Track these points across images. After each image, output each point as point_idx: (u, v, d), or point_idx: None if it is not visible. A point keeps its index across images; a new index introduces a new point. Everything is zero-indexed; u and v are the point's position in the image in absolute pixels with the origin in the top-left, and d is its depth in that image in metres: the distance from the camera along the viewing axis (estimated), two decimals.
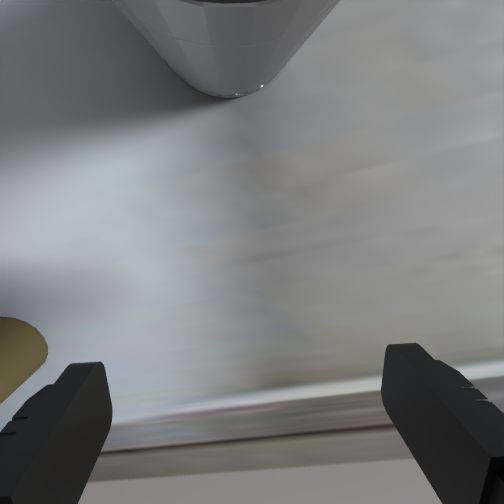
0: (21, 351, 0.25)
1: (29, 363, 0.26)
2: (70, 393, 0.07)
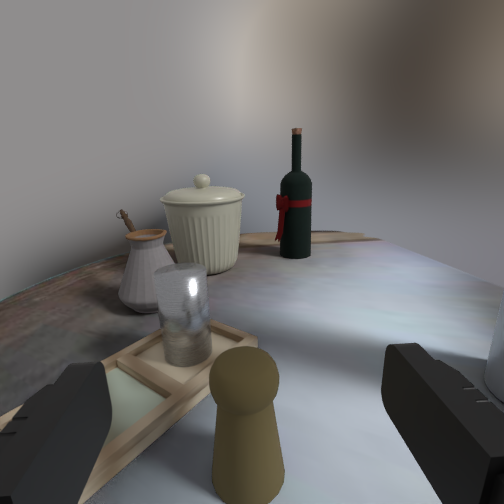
0: (280, 455, 0.25)
1: (274, 471, 0.24)
2: (70, 393, 0.07)
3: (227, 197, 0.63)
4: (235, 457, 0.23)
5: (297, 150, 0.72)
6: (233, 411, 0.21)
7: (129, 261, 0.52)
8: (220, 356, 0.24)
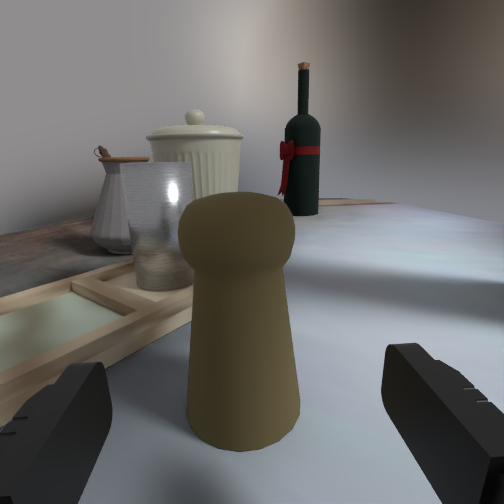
0: (294, 370, 0.16)
1: (285, 391, 0.15)
2: (70, 393, 0.07)
3: (223, 131, 0.54)
4: (221, 357, 0.13)
5: (304, 89, 0.63)
6: (217, 267, 0.12)
7: (103, 189, 0.43)
8: (198, 199, 0.14)
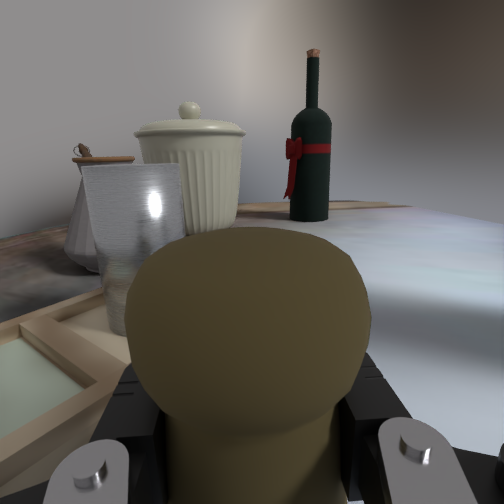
0: None
1: None
2: None
3: (222, 126, 0.47)
4: None
5: (313, 79, 0.56)
6: (205, 423, 0.05)
7: (78, 196, 0.35)
8: (171, 242, 0.07)
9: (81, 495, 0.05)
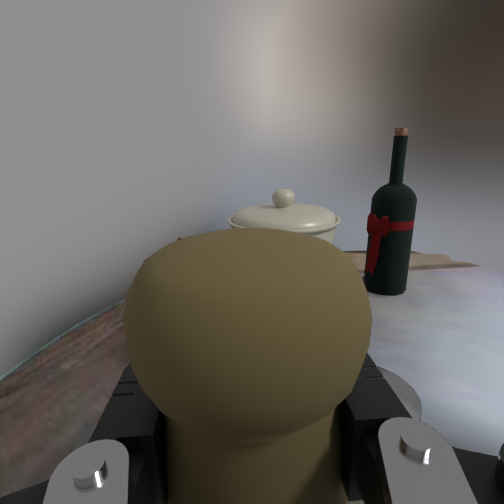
0: None
1: None
2: None
3: (326, 222, 0.46)
4: None
5: (401, 156, 0.55)
6: (206, 426, 0.05)
7: None
8: (171, 243, 0.07)
9: (81, 495, 0.05)
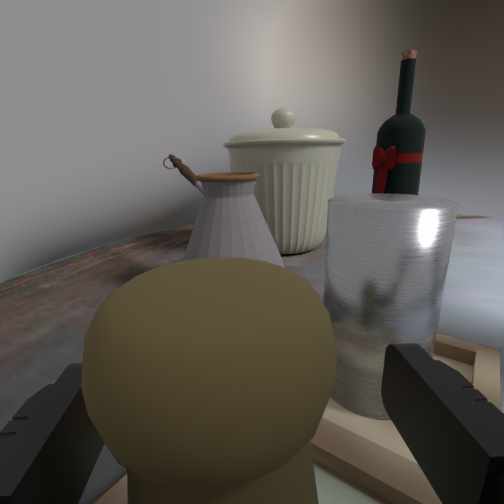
0: None
1: None
2: (70, 393, 0.07)
3: (330, 136, 0.42)
4: None
5: (409, 82, 0.52)
6: (158, 480, 0.05)
7: (203, 219, 0.31)
8: (137, 276, 0.07)
9: None
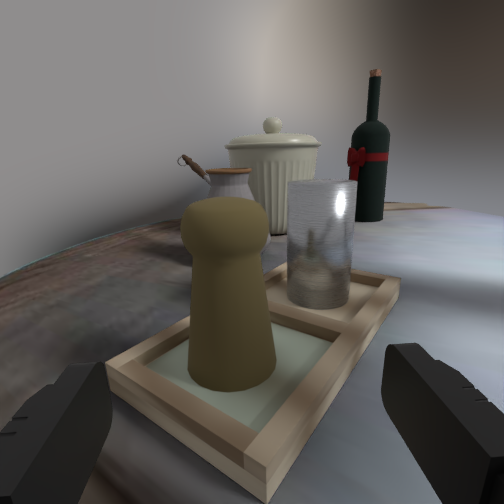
0: (270, 334, 0.20)
1: (262, 347, 0.19)
2: (70, 393, 0.07)
3: (308, 139, 0.54)
4: (214, 321, 0.18)
5: (375, 95, 0.63)
6: (209, 252, 0.17)
7: None
8: (195, 202, 0.19)
9: None
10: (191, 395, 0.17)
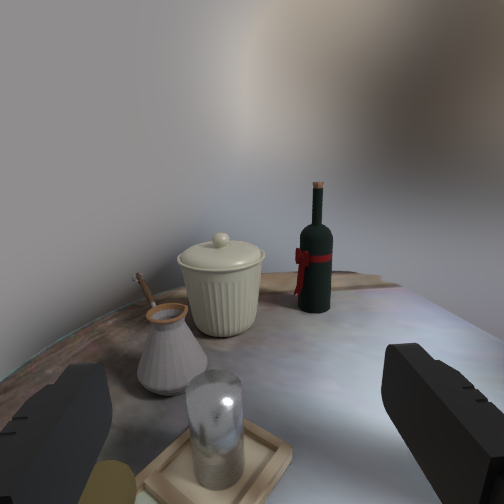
0: None
1: None
2: (70, 393, 0.07)
3: (248, 261, 0.60)
4: None
5: (318, 204, 0.70)
6: None
7: (149, 342, 0.49)
8: None
9: None
10: None
